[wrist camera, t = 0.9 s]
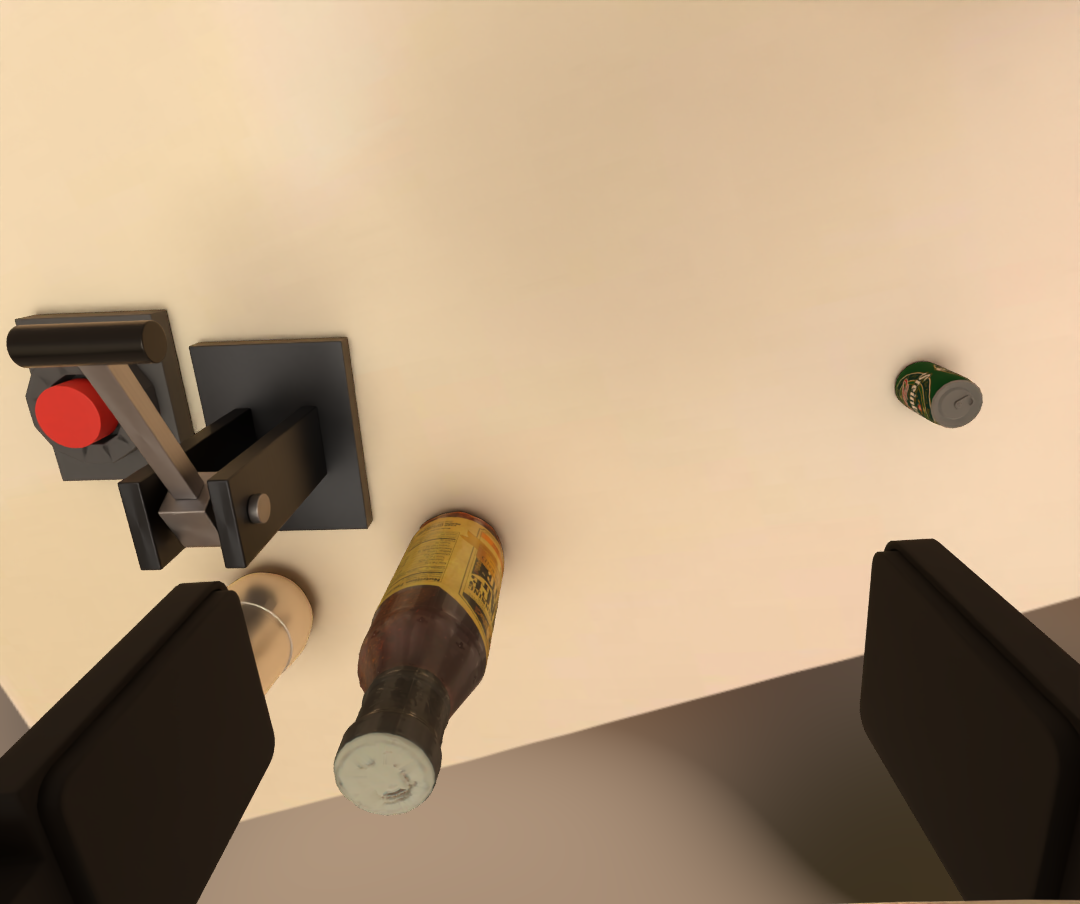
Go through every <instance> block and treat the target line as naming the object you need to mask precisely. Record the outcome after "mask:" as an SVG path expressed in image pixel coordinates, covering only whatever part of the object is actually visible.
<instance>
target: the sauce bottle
mask: <svg viewBox="0 0 1080 904" xmlns="http://www.w3.org/2000/svg"><path fill="white" fill-rule="evenodd" d="M503 571H504V556H503V551H502V547H501V543H500V541H499V539H498V536H497V535H496V533H495V531H494V529H493V528H492V527H491V526H490V525H489V524H487V523H486V522H485V521H484V520H481V519H479V518H477V517H475V516H473V515H470V514H468V513H463V512H452V513H446V514H442V515H439V516H436V517H435V518H433V519H430V520H428V521H427V522H425V523H424V524H423V525H422V526H421V527H420V530H419V531H418V532H417V533H416V534H415V536H414V537H413V539H412V540H411V542H410V544H409V546H408V548H407V550H406V552H405V554H404V556H403V558H402V560H401V562H400V564H399V566H398V568H397V570H396V572H395V574H394V576H393V578H392V580H391V582H390V584H389V586H388V588H387V590H386V592H385V594H384V596H383V598H382V600H381V602H380V604H379V606H378V608H377V610H376V612H375V614H374V617H373V619H372V624H371V627H370V629H369V631H368V633H367V635H366V637H365V639H364V641H363V644H362V646H361V650H360V653H359V661H358V677H359V681H360V687H361V688H362V689H363V691H364V696H363V700H362V707H361V709H360V711H359V714H358V716H357V719H356V721H355V722H354V723H353V724H352V725H351V726H350V727H349V728H348V729H347V731H346V732H345V734H344V736H343V739H342V741H341V744H340V746H339V749H338V751H337V754H336V757H335V761H334V774H335V780H336V784H337V786H338V788H339V790H340V791H341V793H342V794H343V795H344V797H346V798H347V799H348V800H350V801H352V802H353V803H354V804H355V805H356V806H358V807H359V808H361V809H363V810H365V811H368V812H371V813H376V814H381V815H396V814H402V813H407V812H409V811H411V810H412V809H414V808H416V807H418V806H419V805H420V804H421V803H423V802H424V801H425V800H426V799H427V798H428V797H429V795H430V794H431V792H432V790H433V788H434V786H435V784H436V780H437V777H438V774H439V771H440V767H441V759H442V753H441V748H440V747H441V744H442V739H443V734H444V730H445V728H446V726H447V724H448V721H449V719H450V717H451V716H452V715H453V714H454V713H455V711H456V710H457V709H458V708H459V707H460V705H461V704H462V703H463V702H464V701H465V700H466V698H467V697H468V696H469V695H470V694H471V693H472V691H473V690H474V689H475V688H476V687H477V685H478V684H479V683H480V681H481V680H482V678H483V676H484V673H485V669H486V665H487V659H488V656H489V649H490V643H491V637H492V633H493V628H494V621H495V616H496V612H497V608H498V599H499V594H500V588H501V582H502V577H503Z"/></svg>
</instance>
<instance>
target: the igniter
mask: <svg viewBox="0 0 1080 904" xmlns="http://www.w3.org/2000/svg"><path fill="white" fill-rule="evenodd" d="M142 320H153V321H156V322H157V323H159V324H160V326H161V327H162V329H163V330H164V333H165V335H166V339H167V352H166V356H165V358H164V359H163V361H161V362H160V363H156V364H127V365H128V366H129V368H130V369H131V371H132V372H133V374H134V376H135V377H136V379H137V380H138V382H139V383H140V385H141V386H142V388H143V389H144V391H145V392H146V394H147V395H148V397H149V399H150V400H151V402H152V403H153V405H154V406H155V408H156V409H157V411H158V412H159V414H160V415H161V417H162V418H163V420H164V422H165V423H166V425H167V426H168V428H169V429H170V431H171V432H172V434H173V435H174V437H175V438H176V440H177V442H178V443H179V444H180V443H182V442H183V441H185V440H186V439H188V438H190V437H191V436H193V435H194V432H193V427H192V423H191V418H190V414H189V410H188V405H187V401H186V396H185V392H184V387H183V383H182V378H181V374H180V370H179V365H178V361H177V356H176V352H175V347H174V343H173V339H172V334H171V330H170V325H169V321H168V316H167V312H166V310H146V311H120V312H95V313H69V314H43V315H32V316H28V317H23V318H18V319H15V323H16V326H18V325H37V324H63V323H90V322H116V321H142ZM29 369H30V373H31V377H30V381H29V385H28V389H27V393H26V396H25V397H26V400H27V404H28V407H29V410H30V413H31V417H32V420H33V423H34V426H35V427H36V429H37V430H38V431H39V432H40V433H41V434H42V435H43V436H44V437H45V438H46V440H47V441H48V442H49V443H50V444H51V445H52V446H53V449H54V452H55V456H56V459H57V462H58V466H59V469H60V472H61V476H62V479H63V481H81V480H117V479H125V478H126V477H128V476H130V475H131V474H133V473H134V472H136V471H137V470H139V469H141V468H142V467H144V466H145V465H147V464H149V463H148V462H147V461H146V459H145V458H144V457H143V455H142V454H141V452H140V451H139V450H138V448H137V447H136V445H135V444H134V443H133V441H132V440H131V439H130V437H129V436H128V434H127V433H126V432H125V430H124V429H123V427H122V426H121V425H120V423H119V422H118V425H117V427H116V429H115V430H114V431H113V432H112V433H111V434H110V435H108V436H106V437H104V438H102V439H100V440H98V441H96V442H95V443H93V444H91V445H89V446H86V447H83V448H69V447H65V446H63V445H60V444H58V443H56V442H55V441H53V440H52V439H51V438H49V437H48V436H47V435H46V434H45V433H44V431H43V430H42V429H41V427H40V425H39V423H38V421H37V418H36V413H35V406H36V402H37V399H38V397H39V396H40V394H41V393H42V392H43V391H44V390H46V389H47V388H50V387H52V386H55V385H58V384H61V383H63V382H66V381H69V380H72V379H76V378H85V379H87V378H86V376H85V375H84V374H83V372H82V371H81V369H80V368H79V367H78V366H70V367H42V368H29Z"/></svg>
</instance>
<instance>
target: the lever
mask: <svg viewBox="0 0 1080 904" xmlns="http://www.w3.org/2000/svg"><path fill="white" fill-rule="evenodd" d="M7 350H8V353H9V355H10V357H11V359H12V360H13V361H14V362H15V363H16V364H17V365H19V366H21V367H24V368H42V367H70V366H78V367H79V368H80V369H81V371H82V372H83V374H84V375H85V376H86V378H87V379H88V380H89V382H90V383H91V385H92V386H93V387H94V389H95V390H96V392H97V393H98V394H99V396H100V397H101V398H102V400H103V401H104V403H105V404H106V405H107V407H108V408H109V409H110V411H111V412H112V414H113V415H114V416H115V418H116V419H117V421H118V422H119V423H120V425H121V426H122V427H123V429H124V430H125V432H126V433H127V434H128V436H129V437H130V439H131V440H132V441H133V443H134V444H135V445H136V447H137V448H138V450H139V451H140V452H141V454H142V455H143V457H144V458H145V459H146V461H147V462H148V463H149V465H150V466H151V468H152V469H153V470H154V472H155V473H156V474H157V476H158V477H159V479H160V480H161V481H162V483H163V484H164V486H165V487H166V488H167V490H168V492H167V494H166V496H165V498H164V500H163V502H162V504H161V507H160V509H159V511H158V514H159V515H160V517H161V518H162V519H163V520H164V522H165V523H166V524H167V526H168V527H169V528H170V530H171V531H172V532H173V533H174V535H175V536H176V537H177V539H178V540H179V541H180V543H181V544H182V545H183V546H184V547H221V544H220V540H219V535H218V531H217V526H216V522H215V518H214V513H213V509H212V504H211V500H210V495H209V491H208V486H207V480H208V479H209V478H211V477H212V476H213V475H214V474H216V473H217V472H197V471H196V469H195V468H194V466H193V465H192V463H191V461H190V460H189V458H188V457H187V455H186V454H185V452H184V451H183V449H182V448H181V446H180V445H179V443H178V442H177V440H176V438H175V437H174V435H173V434H172V432H171V431H170V429H169V428H168V426H167V425H166V423H165V422H164V420H163V418H162V417H161V415H160V414H159V412H158V411H157V409H156V408H155V406H154V405H153V403H152V402H151V400H150V399H149V397H148V395H147V394H146V392H145V391H144V389H143V388H142V386H141V385H140V383H139V382H138V380H137V379H136V377H135V376H134V374H133V372H132V371H131V369H130V368H129V366H128V365H127V364H156V363H160V362H161V361H163V359H164V358H165V356H166V352H167V339H166V335H165V333H164V330H163V329H162V327H161V326H160V324H159V323H157V322H156V321H153V320H142V321H116V322H90V323H63V324H37V325H18V326H15V327H14V328H12V329H11V330H10V332H9V333H8V336H7Z"/></svg>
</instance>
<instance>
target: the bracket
mask: <svg viewBox="0 0 1080 904" xmlns="http://www.w3.org/2000/svg"><path fill="white" fill-rule="evenodd" d="M189 350H190V354H191V359H192V363H193V368H194V373H195V377H196V382H197V386H198V391H199V396H200V400H201V405H202V409H203V414H204V419H205V423H206V427H205V428H204V429H202V430H201V431H199V432H197V433H196V434H194V435H193V436H191V437H190V438H188V439H186V440H185V441H183V442H182V443H180V444H179V445H180V446H181V448H182V449H183V451H184V452H185V454H186V455H187V457H188V458H189V460H190V461H191V463H192V465H193V466H194V468H195V469H196V471H197V472H217V473H216V474H214V475H213V476H212V477H211V478H209V479H208V480H207V486H208V491H209V495H210V500H211V504H212V509H213V513H214V518H215V522H216V526H217V531H218V535H219V540H220V544H221V549H222V553H223V558H224V562H225V567H226V568H246V567H247V566H248V565H249V564H250V563H251V562H252V560H253V559H254V558H255V557H256V556H257V555H258V553H259V552H260V551H261V550H262V549H263V548H264V546H265V545H266V544H267V543H268V542H269V541H270V540H271V538H272V537H273V536H274V535H275V534H276V533H277V531H293V530H336V529H368V527H369V526H370V524H371V522H372V514H371V507H370V499H369V492H368V485H367V478H366V470H365V463H364V456H363V449H362V441H361V434H360V427H359V420H358V413H357V405H356V398H355V391H354V384H353V376H352V369H351V362H350V355H349V347H348V340H347V337H338V338H311V339H283V340H256V341H228V342H201V343H197V344H194V345H192V346H189ZM118 487H119V491H120V495H121V498H122V502H123V506H124V509H125V513H126V517H127V520H128V524H129V528H130V531H131V535H132V539H133V542H134V546H135V550H136V553H137V557H138V561H139V564H140V568H141V570H161V569H163V568H164V567H165V566H166V565H167V564H168V563H169V562H170V561H171V560H172V559H174V558H175V557H176V556H177V555H178V554H179V553H180V552H181V551H182V550H183V549H184V548H186V547H184V546H183V545H182V544H181V543H180V541H179V540H178V539H177V537H176V536H175V535H174V533H173V532H172V531H171V530H170V528H169V527H168V526H167V524H166V523H165V522H164V520H163V519H162V518H161V517H160V515H159V514H158V511H159V509H160V507H161V504H162V502H163V500H164V498H165V496H166V494H167V492H168V490H167V488H166V487H165V486H164V484H163V483H162V481H161V480H160V479H159V477H158V476H157V474H156V473H155V472H154V470H153V469H152V468H151V466H150V465H149V464H147V465H145V466H144V467H142V468H141V469H139V470H137V471H136V472H134V473H133V474H131V475H130V476H128V477H126V478H125V479H123V480H122V481H120V482H119V483H118Z"/></svg>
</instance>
